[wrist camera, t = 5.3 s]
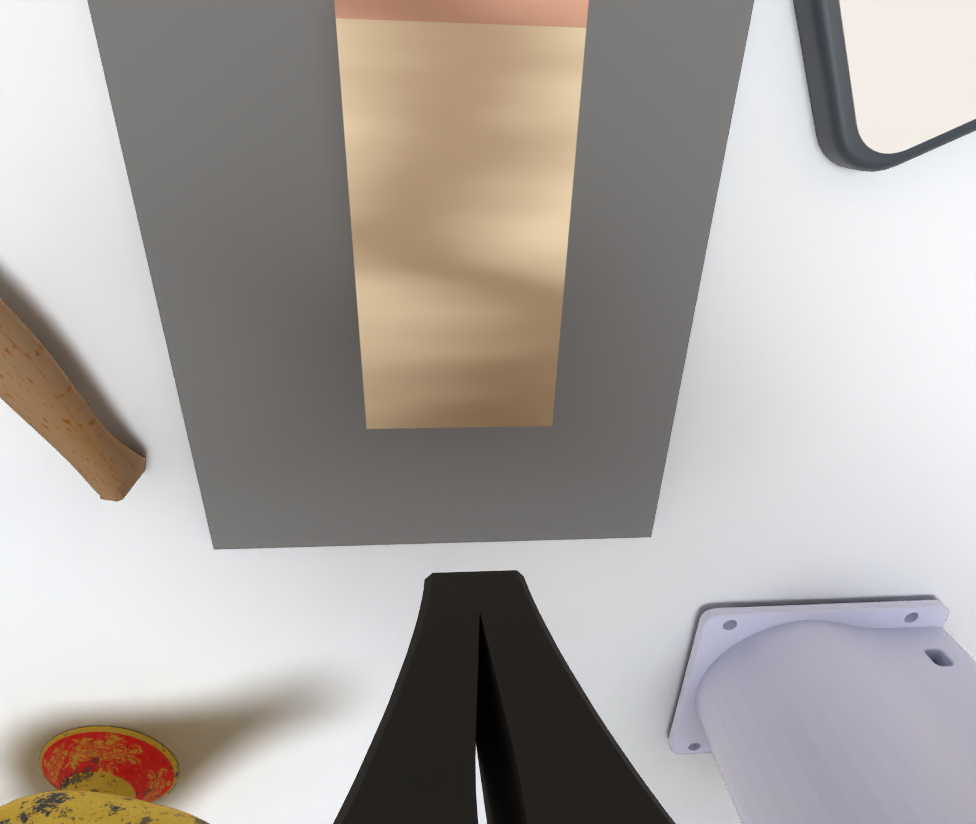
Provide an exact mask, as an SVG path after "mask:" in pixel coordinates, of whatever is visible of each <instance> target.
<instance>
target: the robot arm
mask: <svg viewBox="0 0 976 824" xmlns="http://www.w3.org/2000/svg"><path fill="white" fill-rule="evenodd" d="M948 614H949V609H948V608H947V607H946V606H945V605H944V604H943V603H942V602H941V601H940V600H915V601H889V602H863V603H837V604H811V605H785V606H758V607H732V608H713V609H709V610H707V611H705V612H704V613H703V614H702V615H701V617H700V620H699V623H698V627H697V631H696V635H695V639H694V643H693V647H692V650H691V654H690V658H689V662H688V666H687V670H686V674H685V677H684V681H683V685H682V689H681V693H680V697H679V701H678V704H677V708H676V712H675V716H674V720H673V724H672V728H671V731H670V735H669V739H668V743H669V746H670V749H671V751H672V752H674V753H676V754H692V753H709V752H713V755H714V757H715V759H716V762H717V764H718V767H719V769H720V771H721V774H722V776H723V779H724V781H725V783H726V786H727V788H728V791H729V793H730V795H731V798H732V800H733V803H734V805H735V807H736V810H737V812H738V814H739V817H740V819H741V822H742V824H976V663H975V661H974V660H973V659H972V658H971V657H970V656H969V655H968V654H967V653H966V652H965V651H964V650H963V649H962V648H961V647H960V645H959V644H958V643H957V642H956V641H955V640H954V639H953V638H952V637H951V636H950V635H949V634H948V633H947V632H946V631H945V630H944V628H942V627H943V625H944V623H945V621H946V619H947V617H948ZM728 620H729V621H728ZM476 746H477V754H478V761H479V768H480V775H481V782H482V790H483V797H484V804H485V811H486V818H487V824H675V822H674V821H673V820H672V818H671V817H670V816H669V815H668V813H667V812H666V811H665V809H664V808H663V807H662V805H661V804H660V803H659V801H658V800H657V799H656V797H655V796H654V795H653V793H652V792H651V791H650V789H649V788H648V786H647V785H646V784H645V782H644V781H643V779H642V778H641V777H640V775H639V774H638V773H637V771H636V770H635V768H634V767H633V765H632V764H631V763H630V761H629V760H628V758H627V757H626V755H625V754H624V752H623V751H622V749H621V748H620V747H619V745H618V744H617V742H616V741H615V739H614V738H613V736H612V735H611V733H610V732H609V730H608V729H607V727H606V726H605V724H604V723H603V721H602V720H601V718H600V717H599V715H598V713H597V712H596V710H595V709H594V707H593V706H592V704H591V702H590V701H589V699H588V697H587V696H586V694H585V693H584V691H583V689H582V688H581V686H580V684H579V683H578V681H577V679H576V678H575V676H574V674H573V673H572V671H571V670H570V668H569V666H568V665H567V663H566V661H565V659H564V658H563V656H562V654H561V652H560V651H559V649H558V647H557V645H556V643H555V641H554V640H553V638H552V636H551V634H550V632H549V630H548V628H547V626H546V625H545V623H544V621H543V619H542V617H541V615H540V613H539V611H538V609H537V606H536V604H535V602H534V600H533V598H532V596H531V593H530V591H529V589H528V586H527V584H526V581H525V579H524V576H522V575H521V574H520V573H519V572H518V571H517V570H512V571H481V572H449V573H432V574H431V575H430V576H428V577H427V578H426V579H425V582H424V591H423V597H422V602H421V606H420V611H419V615H418V619H417V622H416V626H415V629H414V633H413V636H412V639H411V642H410V645H409V648H408V652H407V655H406V657H405V660H404V663H403V665H402V668H401V671H400V674H399V676H398V679H397V682H396V684H395V687H394V690H393V692H392V695H391V698H390V700H389V703H388V705H387V708H386V710H385V713H384V715H383V718H382V720H381V722H380V724H379V727H378V729H377V731H376V733H375V736H374V738H373V740H372V742H371V745H370V747H369V749H368V751H367V754H366V756H365V758H364V761H363V763H362V765H361V767H360V770H359V772H358V774H357V776H356V778H355V780H354V782H353V785H352V787H351V789H350V791H349V793H348V795H347V797H346V799H345V801H344V803H343V805H342V807H341V809H340V811H339V813H338V815H337V817H336V819H335V821H334V823H333V824H478V816H477V802H476V773H475V751H476Z"/></svg>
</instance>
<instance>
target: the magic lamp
mask: <svg viewBox="0 0 976 824" xmlns="http://www.w3.org/2000/svg"><path fill="white" fill-rule="evenodd" d="M40 767H41V770H42V773H43V775H44V776H45V777H46V779H47V780H48V781H49V782H50V783H51V784H52V785H53V786H54V787H55V788H56V789H58V791H50V792H43V793H39V794H35V795H31V796H27V797H23V798H20V799H16V800H14V801H11V802H9V803H7V804H5V805H3V806H1V807H0V824H209V823H207V822H205V821H204V820H202V819H199V818H197V817H195V816H193V815H191V814H188V813H186V812H183V811H180V810H177V809H173V808H170V807H166V806H161V805H157V804H153V803H150V802H153V801H155V800H157V799H160V798H161V797H163V796H164V795H166V794H167V793H169V792H170V790H171V789H172V788H173V787H174V786H175V784H176V782H177V780H178V774H179V769H178V764H177V762H176V760H175V758H174V756H173V755H172V754H171V753H170V752H169V751H168V749H167V748H165V747H164V746H163V745H161V744H160V743H159V742H157V741H156V740H154V739H152V738H150V737H148V736H146V735H143V734H140V733H138V732H135V731H131V730H127V729H123V728H117V727H108V726H90V727H82V728H76V729H73V730H69V731H66V732H64V733H62V734H59V735H57V736H56V737H54V738H53V739H52V740H50V741H49V742H48V743H47V744H46V746H45V747H44V748H43V750H42V753H41V756H40Z"/></svg>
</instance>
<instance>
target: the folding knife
mask: <svg viewBox="0 0 976 824" xmlns="http://www.w3.org/2000/svg"><path fill="white" fill-rule="evenodd" d="M0 398H1V399H2V400H3V401H4V402H6V403H7V404H8V405H9V406H10V407H11V408H12V409H13V410H14V411H15V412H16V413H17V414H19V415H20V416H21V417H22V418H23V419H24V420H25V421H26V422H27V423H28V424H29V425H30V426H32V427H33V428H34V429H35V430H36V431H37V432H38V433H39V434H40V435H41V436H42V437H43V438H45V439H46V440H47V441H48V442H49V443H50V444H51V445H52V446H53V447H54V448H55V449H56V450H57V451H58V452H59V453H60V454H61V455H62V456H63V457H64V458H66V459H67V460H68V461H69V462H70V463H71V464H72V466H73V467H74V468H75V469H76V470H77V471H78V472H79V473H80V474H81V475H82V476H83V478H84V479H85V480H86V481H87V482H88V483H89V484H90V485H91V487H92V488H93V489H94V490H95V491H96V492H97V493H98V494H99V495H100V498H101V499H104V500H111V501H120V500H122V499H123V498H124V497H125V496H126V495H127V493H128V492H129V491H130V489H131V488H132V487H133V485H134V484H135V483H136V481H137V480H138V479H139V478H140V476H141V475H142V474H143V472H144V471H145V459H146V457H142V456H141V455H139V454H137V453H136V452H134V451H133V450H131V449H130V448H128V447H127V446H125V445H124V444H122V443H121V442H120V441H119V440H118V439H116V438H115V437H114V436H113V435H112V434H111V433H110V432H109V431H108V430H107V429H106V428H105V427H104V425H103V424H102V423H101V422H100V420H99V419H98V418H97V417H96V415H95V414H94V413H93V412H92V410H91V409H90V407H89V406H88V405H87V403H86V402H85V400H84V399H83V398H82V396H81V395H80V393H79V392H78V391H77V389H76V388H75V386H74V385H73V384H72V382H71V381H70V379H69V378H68V377H67V375H66V374H65V373H64V371H63V370H62V369H61V367H60V366H59V365H58V363H57V362H56V361H55V359H54V358H53V357H52V356H51V354H50V353H49V352H48V351H47V349H46V348H45V347H44V346H43V345H42V343H41V342H40V341H39V340H38V338H37V337H36V336H35V335H34V334H33V333H32V332H31V331H30V330H29V328H28V327H27V326H26V325H25V324H24V323H23V322H22V321H21V320H20V318H19V317H18V316H17V315H16V314H15V313H14V312H13V311H12V310H11V309H10V308H9V307H8V306H7V305H6V304H5V303H4V301H3V300H2V299H1V298H0Z"/></svg>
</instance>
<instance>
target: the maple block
mask: <svg viewBox="0 0 976 824" xmlns="http://www.w3.org/2000/svg"><path fill="white" fill-rule="evenodd" d="M588 2H589V0H334V3H335V16H336V29H337V42H338V56H339V69H340V82H341V96H342V109H343V122H344V135H345V149H346V162H347V175H348V189H349V202H350V215H351V228H352V242H353V255H354V268H355V282H356V295H357V308H358V321H359V335H360V348H361V361H362V375H363V388H364V401H365V414H366V428H367V429H396V428H464V427H532V426H552V421H553V410H554V398H555V387H556V375H557V363H558V352H559V340H560V328H561V317H562V305H563V293H564V282H565V270H566V258H567V247H568V235H569V224H570V212H571V200H572V189H573V177H574V165H575V154H576V142H577V130H578V119H579V107H580V95H581V84H582V72H583V61H584V49H585V37H586V26H587V14H588Z"/></svg>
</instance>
